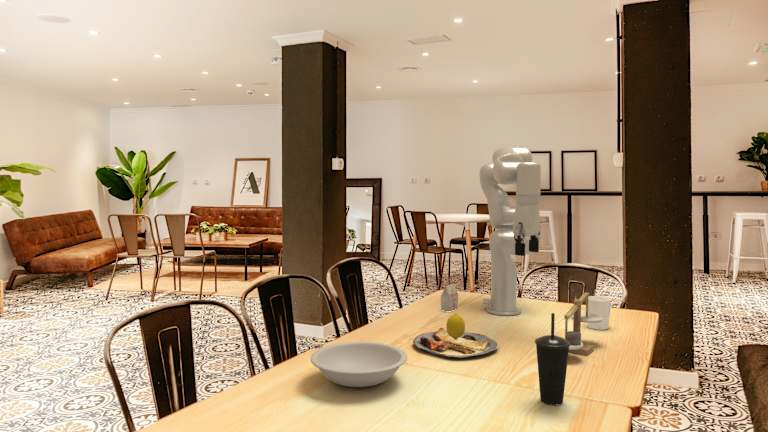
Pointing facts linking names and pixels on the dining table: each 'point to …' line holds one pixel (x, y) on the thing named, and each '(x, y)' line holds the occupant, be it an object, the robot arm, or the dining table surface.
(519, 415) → the dining table surface
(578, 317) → the balance
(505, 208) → the robot arm
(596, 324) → the white cup
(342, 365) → the soup bowl
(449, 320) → the lemon
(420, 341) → the food plate
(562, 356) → the drinking cup
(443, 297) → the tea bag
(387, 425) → the dining table surface
